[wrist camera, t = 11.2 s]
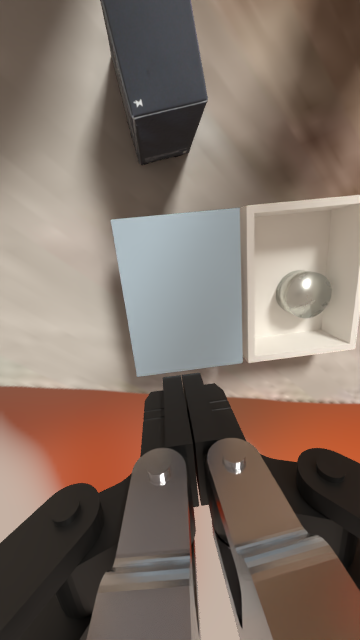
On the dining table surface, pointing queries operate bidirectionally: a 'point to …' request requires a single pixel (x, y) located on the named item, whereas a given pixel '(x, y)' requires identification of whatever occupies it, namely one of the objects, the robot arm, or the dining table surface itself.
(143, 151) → the small box
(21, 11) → the dining table surface
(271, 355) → the open white box
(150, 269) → the lid
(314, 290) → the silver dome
